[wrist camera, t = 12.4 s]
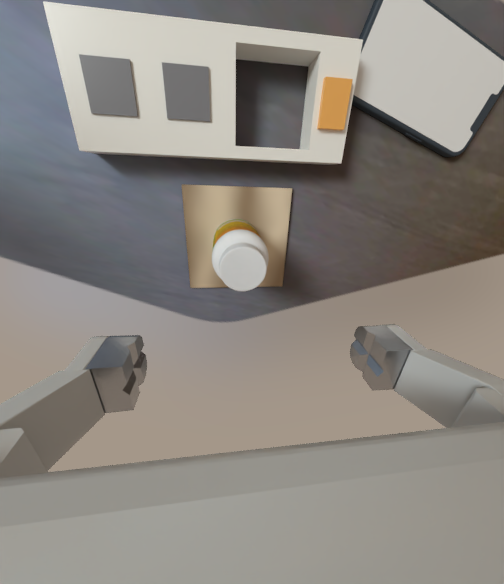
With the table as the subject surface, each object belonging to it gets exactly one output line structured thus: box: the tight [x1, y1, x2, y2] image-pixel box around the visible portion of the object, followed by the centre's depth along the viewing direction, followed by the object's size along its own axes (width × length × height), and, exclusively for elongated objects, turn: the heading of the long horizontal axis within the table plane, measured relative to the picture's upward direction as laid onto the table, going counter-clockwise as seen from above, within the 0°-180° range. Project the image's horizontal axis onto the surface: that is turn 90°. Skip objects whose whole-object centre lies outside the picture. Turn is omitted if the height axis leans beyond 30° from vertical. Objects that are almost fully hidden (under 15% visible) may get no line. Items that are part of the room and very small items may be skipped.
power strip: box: [43, 2, 363, 165], centre depth 21 cm, size 24×9×4 cm, turn 88°
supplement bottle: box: [212, 219, 269, 291], centre depth 24 cm, size 5×5×10 cm
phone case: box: [352, 0, 504, 157], centre depth 24 cm, size 9×2×16 cm
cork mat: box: [182, 185, 292, 288], centre depth 28 cm, size 12×12×1 cm
